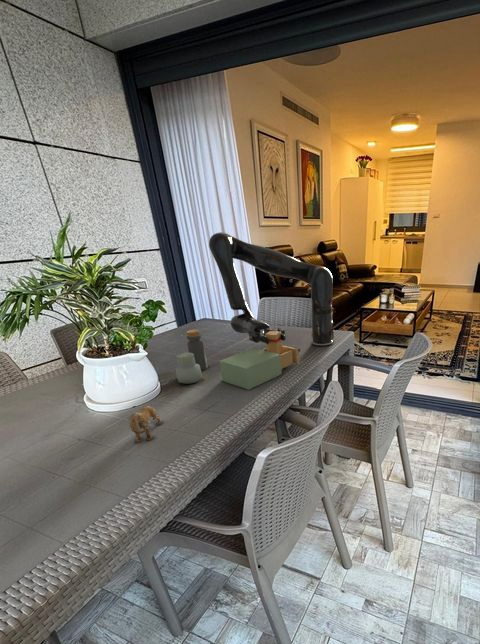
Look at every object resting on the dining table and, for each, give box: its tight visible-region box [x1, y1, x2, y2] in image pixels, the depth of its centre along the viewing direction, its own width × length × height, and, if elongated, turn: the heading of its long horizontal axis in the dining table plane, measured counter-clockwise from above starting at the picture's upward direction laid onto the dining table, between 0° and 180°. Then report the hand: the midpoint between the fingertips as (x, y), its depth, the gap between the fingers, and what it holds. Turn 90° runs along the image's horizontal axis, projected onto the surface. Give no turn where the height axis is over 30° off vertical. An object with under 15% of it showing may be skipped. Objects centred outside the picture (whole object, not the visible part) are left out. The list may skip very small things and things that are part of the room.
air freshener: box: [175, 351, 203, 385], centre depth 127 cm, size 11×8×10 cm
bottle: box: [185, 329, 209, 371], centre depth 137 cm, size 6×6×15 cm
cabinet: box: [219, 347, 283, 391], centre depth 128 cm, size 17×14×8 cm
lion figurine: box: [128, 405, 162, 443], centre depth 95 cm, size 15×5×9 cm, turn 14°
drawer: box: [262, 344, 301, 370], centre depth 138 cm, size 20×13×6 cm, turn 143°
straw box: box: [265, 331, 283, 354], centre depth 134 cm, size 4×4×8 cm
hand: (276, 339), depth 131 cm, fingers closed on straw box, 6 cm apart
